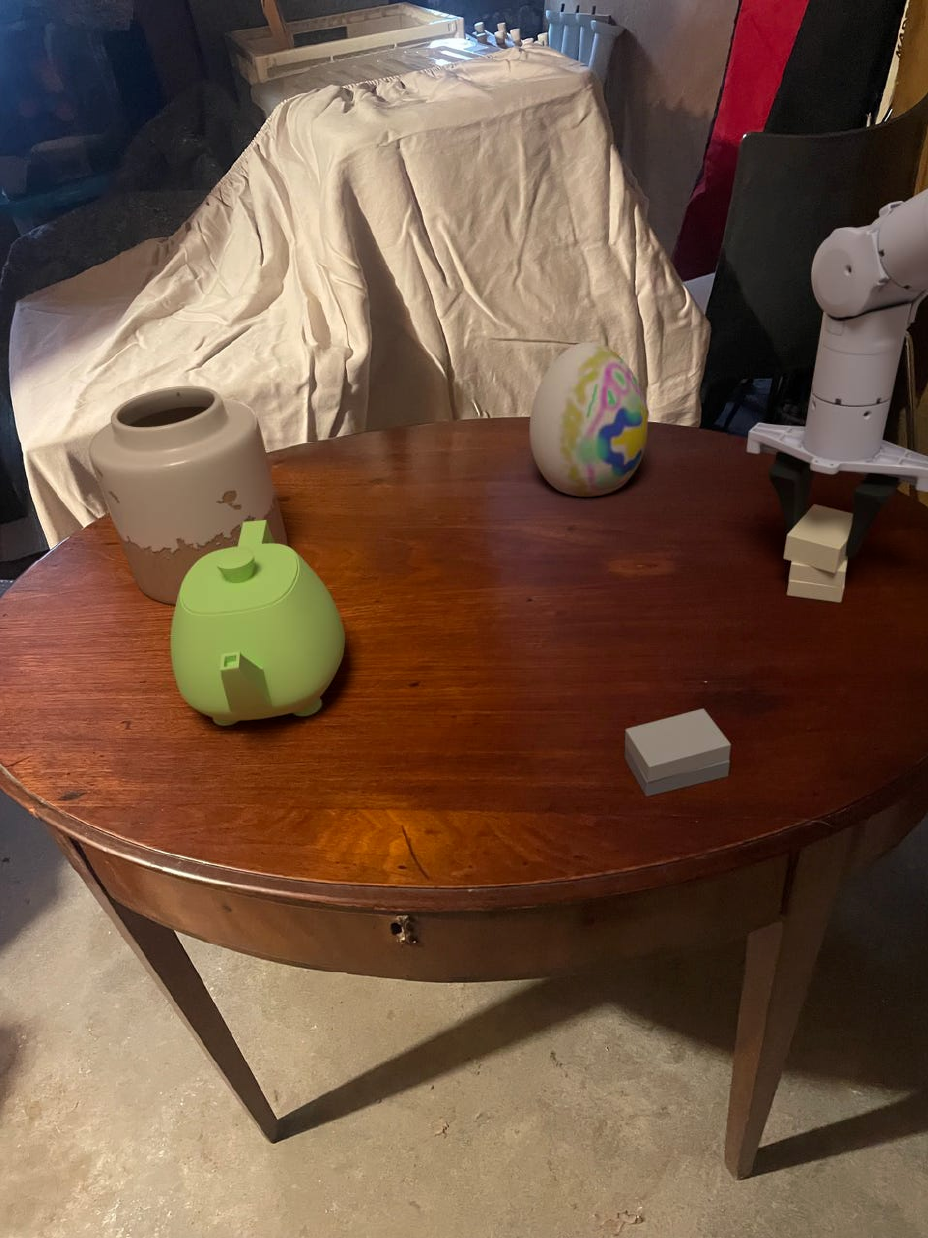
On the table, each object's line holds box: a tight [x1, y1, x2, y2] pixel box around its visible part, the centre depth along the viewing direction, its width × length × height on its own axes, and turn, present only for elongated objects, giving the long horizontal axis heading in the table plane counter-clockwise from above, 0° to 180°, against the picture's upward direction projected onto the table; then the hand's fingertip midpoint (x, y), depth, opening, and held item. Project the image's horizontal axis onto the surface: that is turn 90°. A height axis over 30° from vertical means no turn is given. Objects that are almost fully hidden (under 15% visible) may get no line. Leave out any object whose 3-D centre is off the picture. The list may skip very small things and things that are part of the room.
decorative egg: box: [529, 341, 649, 498], centre depth 91 cm, size 12×12×15 cm
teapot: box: [170, 520, 346, 727], centre depth 68 cm, size 20×13×13 cm
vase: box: [88, 385, 289, 606], centre depth 83 cm, size 15×15×17 cm
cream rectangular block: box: [783, 503, 853, 573], centre depth 75 cm, size 6×4×2 cm
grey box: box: [624, 708, 732, 798], centre depth 60 cm, size 6×4×3 cm, turn 104°
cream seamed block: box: [786, 557, 849, 604], centre depth 76 cm, size 6×4×3 cm
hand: (822, 543), depth 75 cm, fingers closed on cream rectangular block, 4 cm apart
